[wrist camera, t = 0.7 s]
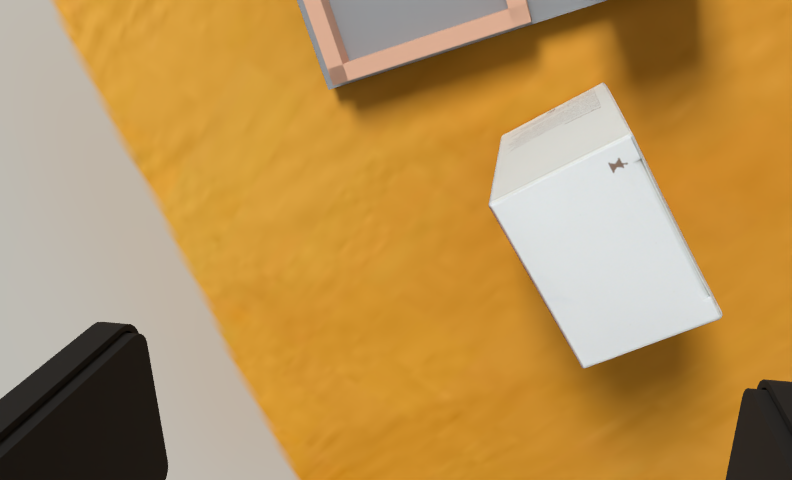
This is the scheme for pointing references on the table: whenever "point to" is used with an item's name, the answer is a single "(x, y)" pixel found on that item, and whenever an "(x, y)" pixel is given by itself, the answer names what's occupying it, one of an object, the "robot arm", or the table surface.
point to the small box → (597, 231)
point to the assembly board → (411, 29)
